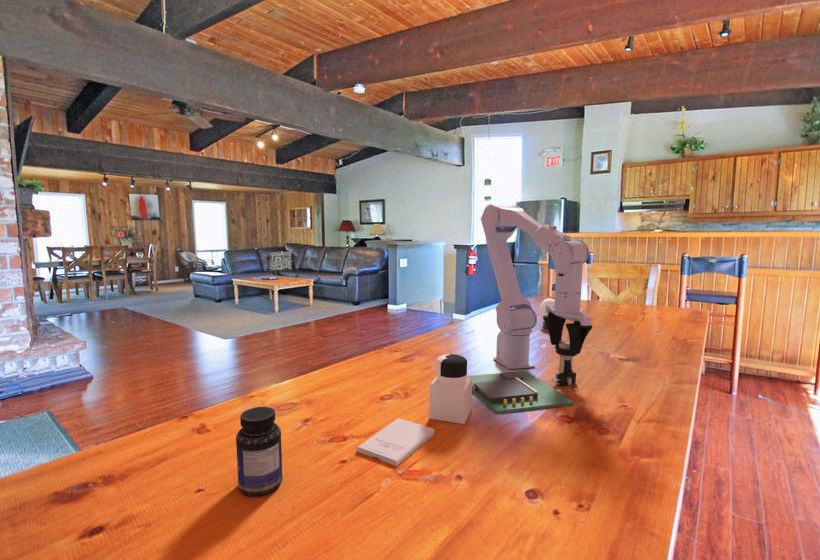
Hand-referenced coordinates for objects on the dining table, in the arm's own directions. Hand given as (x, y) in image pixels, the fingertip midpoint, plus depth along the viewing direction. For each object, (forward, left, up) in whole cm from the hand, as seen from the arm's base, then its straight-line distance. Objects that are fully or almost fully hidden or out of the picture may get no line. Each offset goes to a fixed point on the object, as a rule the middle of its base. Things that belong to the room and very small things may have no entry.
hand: (565, 348), depth 101 cm
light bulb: (-51, +29, -9) cm, 59 cm away
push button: (0, 0, -9) cm, 9 cm away
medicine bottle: (+9, -32, -9) cm, 34 cm away
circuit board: (+1, -14, -9) cm, 17 cm away
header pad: (+3, -17, -8) cm, 19 cm away
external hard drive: (+17, -45, -10) cm, 49 cm away
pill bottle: (+24, -67, -9) cm, 72 cm away
